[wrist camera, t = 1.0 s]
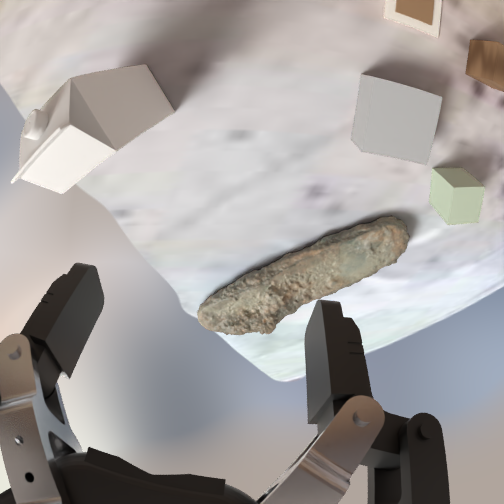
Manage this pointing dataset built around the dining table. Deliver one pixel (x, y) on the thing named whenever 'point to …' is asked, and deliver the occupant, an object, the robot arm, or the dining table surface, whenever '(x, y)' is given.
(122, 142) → the milk carton
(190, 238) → the dining table surface
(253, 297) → the long grey stone
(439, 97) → the base block
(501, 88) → the walnut block
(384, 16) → the swatch
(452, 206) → the sage block
